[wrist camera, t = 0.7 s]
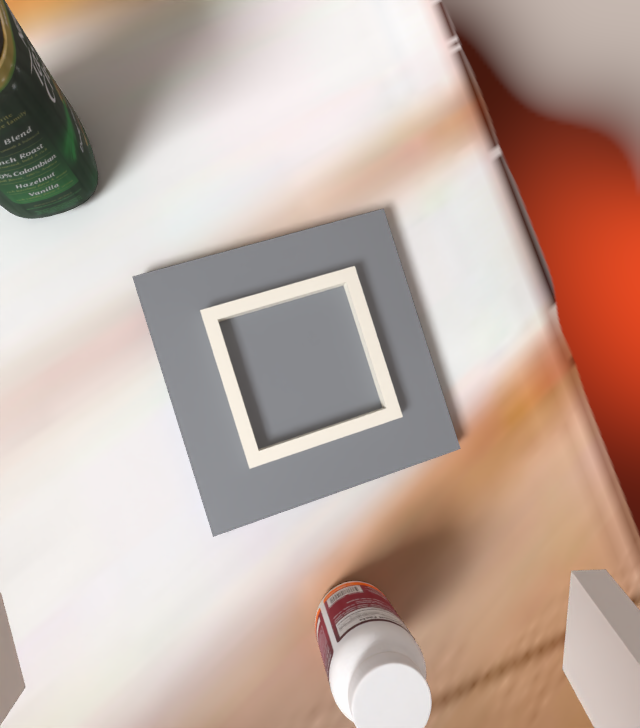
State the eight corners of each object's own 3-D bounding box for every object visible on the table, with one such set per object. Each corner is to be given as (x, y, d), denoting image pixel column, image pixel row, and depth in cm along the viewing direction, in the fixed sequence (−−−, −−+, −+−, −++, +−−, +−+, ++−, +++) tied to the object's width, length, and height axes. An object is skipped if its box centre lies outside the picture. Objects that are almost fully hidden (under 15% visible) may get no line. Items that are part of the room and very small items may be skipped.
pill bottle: (368, 673, 38) (413, 783, 28) (299, 638, 38) (317, 736, 27) (404, 599, 39) (463, 678, 28) (337, 564, 39) (370, 630, 28)
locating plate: (452, 446, 40) (466, 450, 38) (214, 531, 38) (211, 541, 35) (378, 215, 41) (387, 202, 38) (137, 281, 38) (128, 272, 35)
